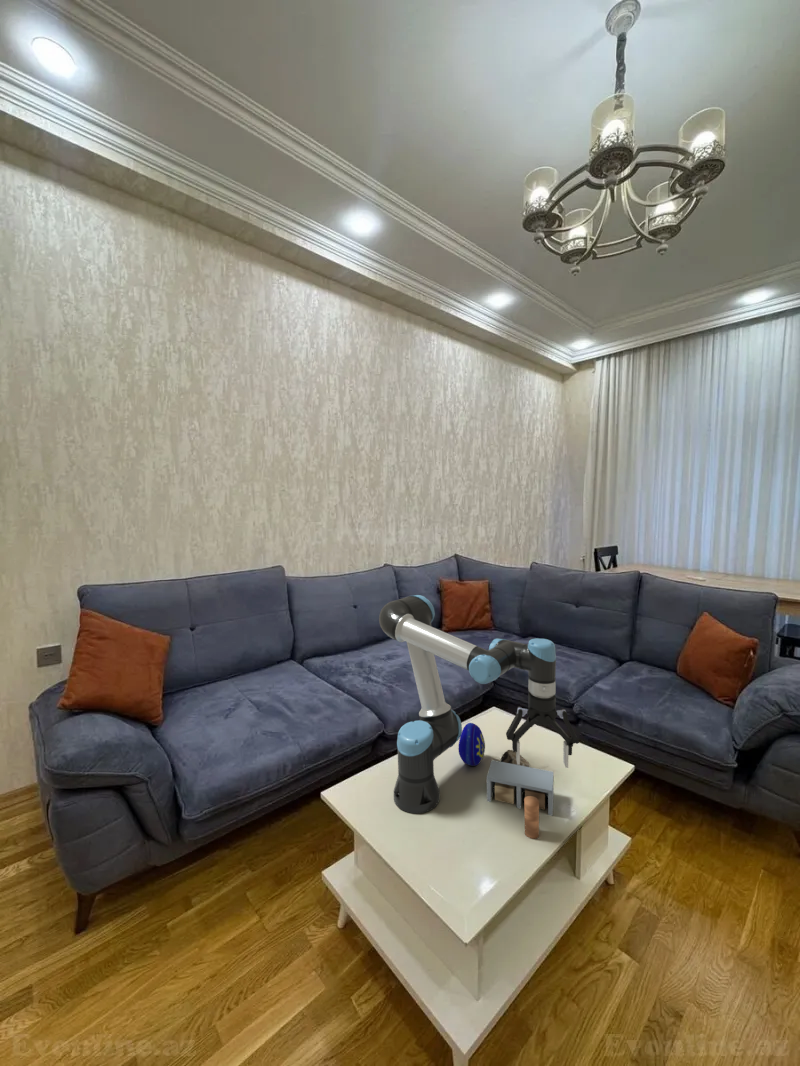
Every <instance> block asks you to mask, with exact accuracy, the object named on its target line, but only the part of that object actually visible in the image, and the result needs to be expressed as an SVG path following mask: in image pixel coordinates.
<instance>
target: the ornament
mask: <svg viewBox="0 0 800 1066" xmlns="http://www.w3.org/2000/svg"><path fill="white" fill-rule="evenodd" d="M457 749H458V754H459V758H460V759H461V760H462V762H463V763H464V764H465V765H468V766H471V767H472V766H475V767H476V766H478V765H479V764H480V763H481V762H482V760H483V758H484V756H485V753H486V752H485V751H486V741H485V738H484V734H483V732H482V730H481V728H480V727H479V725H477V724H476V723H473V722H467V723H466V724H465V726H464V727H462V733H461V736H460V738H459V740H458V748H457Z"/></svg>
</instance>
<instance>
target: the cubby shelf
mask: <svg viewBox="0 0 800 1066" xmlns="http://www.w3.org/2000/svg"><path fill="white" fill-rule="evenodd" d="M495 782H498V783H502V784H507V785H512V786H516V808H517V809H520V810H521V809H522V803H523V799H524V797H523V796H524V793H525V788H526V789H531V790H536V791H541V792H545V793H546V797H547V798H548V799H547V803H548V804H547V807H548V808H547V811H548V812H547V815H548V816H551V817H552V816H553V812H554V794H555V793H554V792H555V791H554V785H555V784H554V771H551V770H546V769H542V768H535V767H531V766H530V767H526V766H521V765H515V764H510V763H505V762H501V760H500V761H498V760H493V759H492V760H491V762H490V766H489V768H488V771H487V773H486V802H490V803H491V802H492V798H493V794H494V792H495Z"/></svg>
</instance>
